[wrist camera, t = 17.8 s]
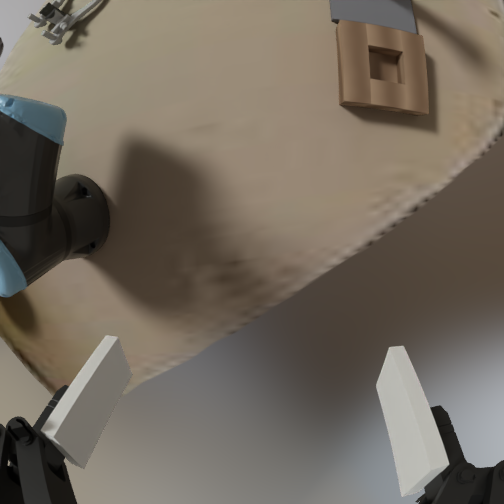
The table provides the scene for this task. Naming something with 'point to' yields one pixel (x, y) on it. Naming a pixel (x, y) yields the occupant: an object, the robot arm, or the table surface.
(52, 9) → the bike brake
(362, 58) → the eye block
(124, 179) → the table surface
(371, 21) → the mat
